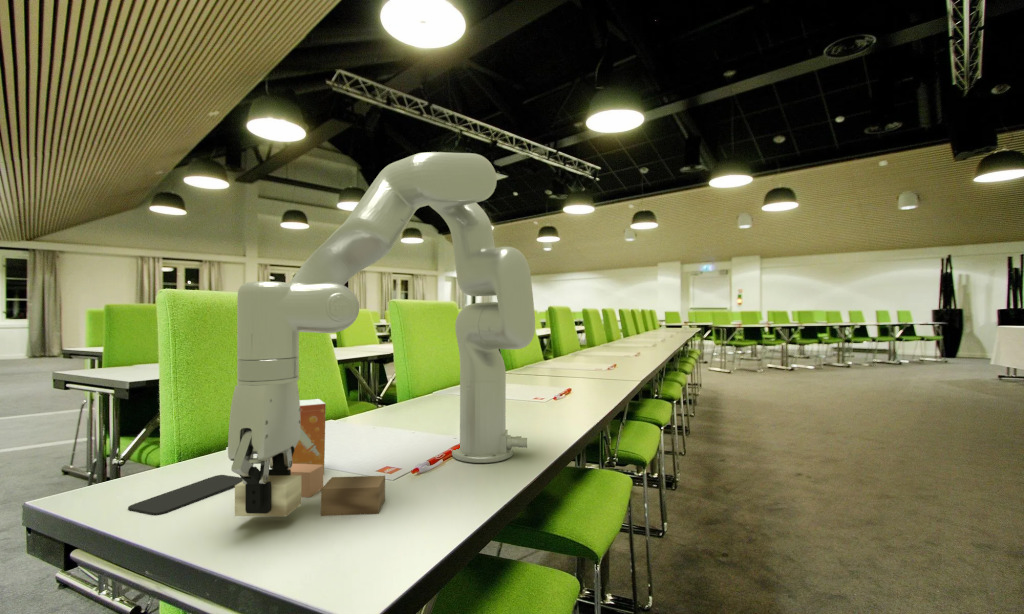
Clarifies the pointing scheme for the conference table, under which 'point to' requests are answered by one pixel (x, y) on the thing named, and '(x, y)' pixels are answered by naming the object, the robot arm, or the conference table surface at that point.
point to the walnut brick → (353, 495)
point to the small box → (311, 433)
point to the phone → (185, 495)
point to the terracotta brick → (309, 478)
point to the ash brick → (274, 496)
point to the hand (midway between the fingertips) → (268, 503)
